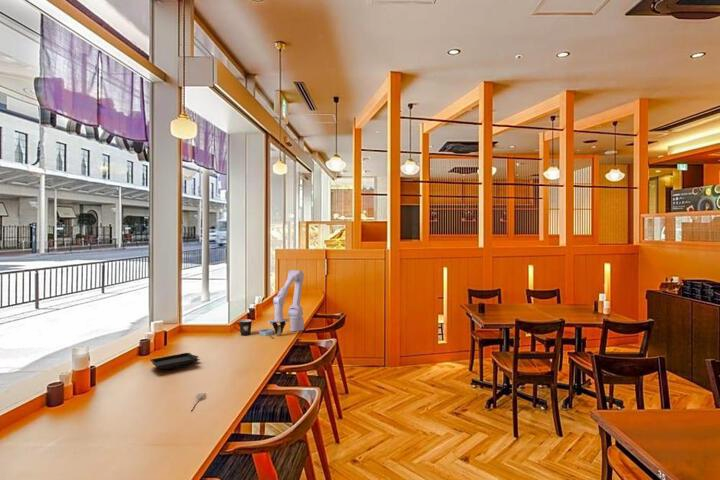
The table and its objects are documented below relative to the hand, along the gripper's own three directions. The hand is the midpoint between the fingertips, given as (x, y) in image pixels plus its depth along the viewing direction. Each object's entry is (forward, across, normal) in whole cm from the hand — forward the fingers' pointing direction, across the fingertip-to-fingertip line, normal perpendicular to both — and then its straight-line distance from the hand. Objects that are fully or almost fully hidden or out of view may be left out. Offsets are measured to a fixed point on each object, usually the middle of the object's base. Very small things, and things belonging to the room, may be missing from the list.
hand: (278, 332), depth 292 cm
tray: (+2, +70, +34) cm, 78 cm away
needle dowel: (+2, 0, 0) cm, 2 cm away
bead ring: (+2, +6, -9) cm, 11 cm away
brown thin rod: (+2, +6, +1) cm, 7 cm away
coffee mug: (+2, +20, -15) cm, 25 cm away
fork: (+2, +70, +89) cm, 113 cm away
